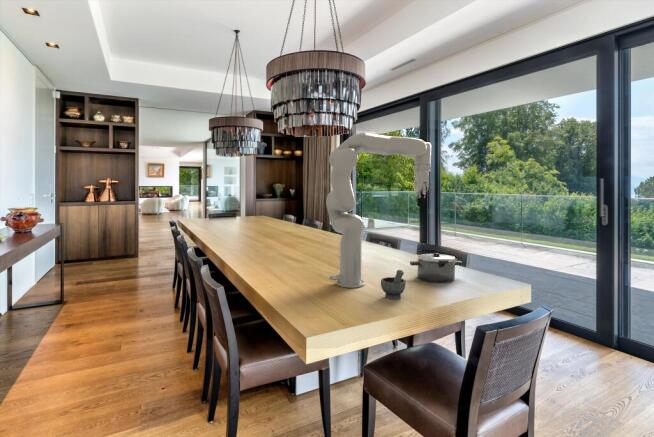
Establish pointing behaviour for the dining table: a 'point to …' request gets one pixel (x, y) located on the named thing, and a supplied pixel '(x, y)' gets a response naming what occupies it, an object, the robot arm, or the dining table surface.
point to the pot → (436, 271)
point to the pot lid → (436, 258)
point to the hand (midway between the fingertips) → (421, 206)
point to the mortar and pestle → (393, 286)
